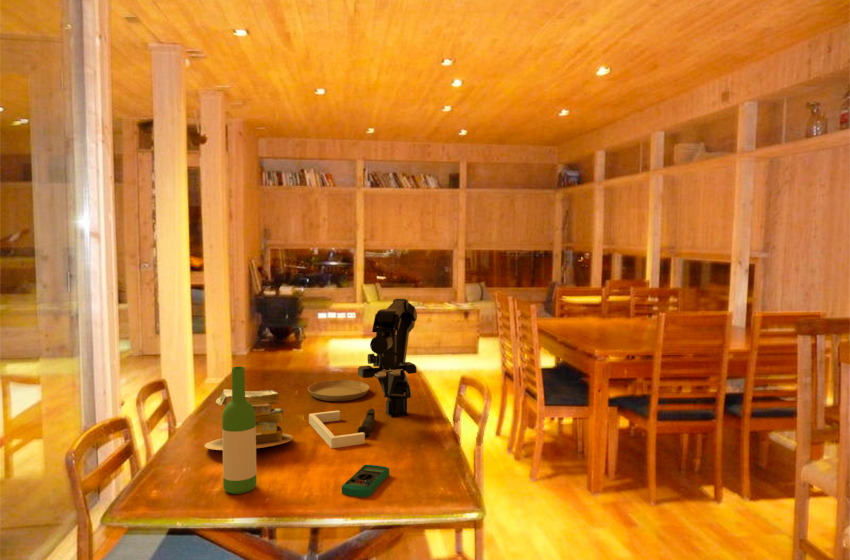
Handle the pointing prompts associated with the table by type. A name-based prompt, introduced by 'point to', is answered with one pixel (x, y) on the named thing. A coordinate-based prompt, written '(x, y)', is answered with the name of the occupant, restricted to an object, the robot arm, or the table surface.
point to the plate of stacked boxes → (258, 418)
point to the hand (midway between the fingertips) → (387, 395)
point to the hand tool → (367, 423)
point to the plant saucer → (338, 390)
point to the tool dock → (328, 437)
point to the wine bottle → (239, 439)
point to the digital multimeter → (365, 481)
